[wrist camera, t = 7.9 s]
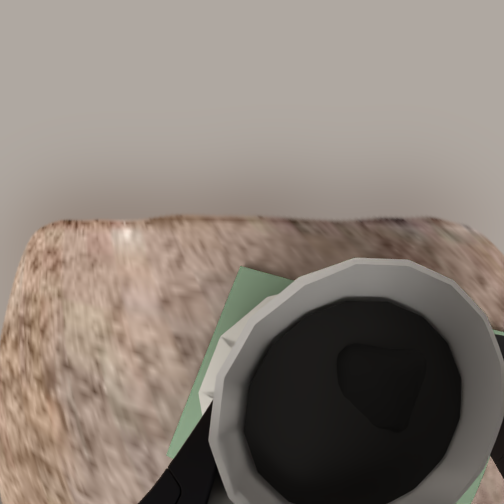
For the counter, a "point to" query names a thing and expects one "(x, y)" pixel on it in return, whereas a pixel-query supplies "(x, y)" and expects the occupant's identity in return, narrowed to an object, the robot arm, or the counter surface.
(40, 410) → the counter surface
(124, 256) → the counter surface
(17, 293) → the counter surface
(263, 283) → the practice green
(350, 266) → the white coffee cup
